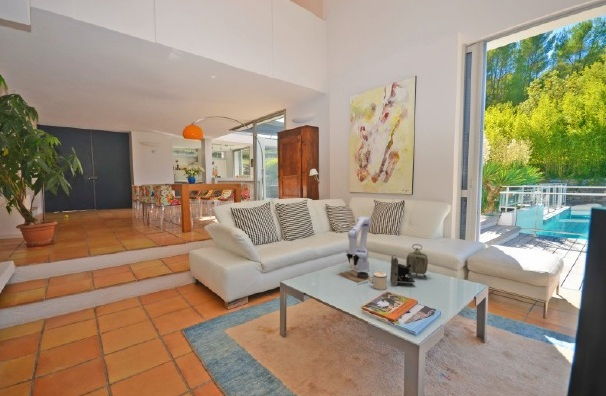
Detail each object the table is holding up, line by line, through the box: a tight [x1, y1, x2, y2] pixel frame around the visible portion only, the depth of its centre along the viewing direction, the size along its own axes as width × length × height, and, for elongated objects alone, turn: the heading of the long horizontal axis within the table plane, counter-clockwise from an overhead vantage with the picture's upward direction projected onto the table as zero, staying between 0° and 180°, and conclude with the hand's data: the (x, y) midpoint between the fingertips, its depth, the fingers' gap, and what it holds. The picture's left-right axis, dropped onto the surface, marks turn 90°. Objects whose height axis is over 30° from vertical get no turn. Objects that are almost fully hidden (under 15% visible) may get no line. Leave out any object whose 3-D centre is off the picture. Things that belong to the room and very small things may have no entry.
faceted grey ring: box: [357, 271, 369, 279], centre depth 205 cm, size 8×8×2 cm
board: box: [336, 269, 373, 286], centre depth 207 cm, size 18×22×2 cm
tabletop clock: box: [405, 243, 429, 279], centre depth 207 cm, size 14×9×25 cm, turn 62°
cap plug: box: [349, 257, 357, 270], centre depth 207 cm, size 5×5×7 cm
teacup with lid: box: [368, 269, 388, 291], centre depth 189 cm, size 12×9×12 cm
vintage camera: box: [389, 254, 416, 287], centre depth 193 cm, size 10×15×20 cm, turn 78°
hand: (353, 264), depth 207 cm, fingers closed on cap plug, 5 cm apart
